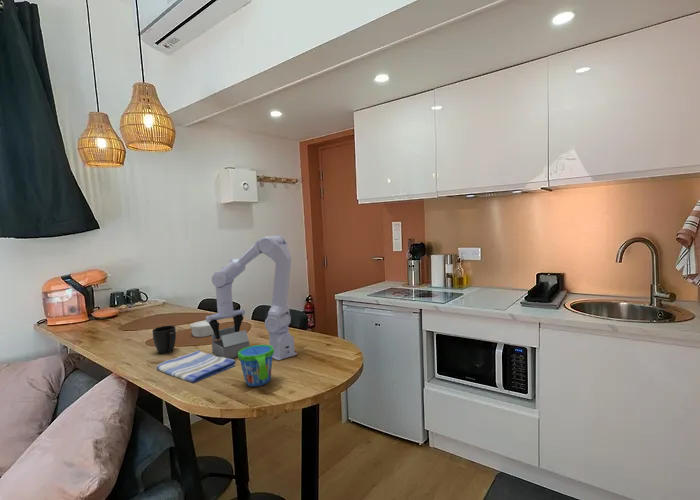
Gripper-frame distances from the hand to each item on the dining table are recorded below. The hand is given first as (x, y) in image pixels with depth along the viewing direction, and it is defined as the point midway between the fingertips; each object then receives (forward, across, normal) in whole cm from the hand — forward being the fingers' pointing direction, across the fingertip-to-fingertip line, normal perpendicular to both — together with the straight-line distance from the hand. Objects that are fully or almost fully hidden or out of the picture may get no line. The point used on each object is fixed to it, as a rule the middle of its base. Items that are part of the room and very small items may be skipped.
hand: (227, 336), depth 142 cm
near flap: (-1, 0, +7) cm, 8 cm away
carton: (+6, 0, +2) cm, 6 cm away
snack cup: (+6, +4, +35) cm, 36 cm away
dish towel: (+7, +14, +7) cm, 18 cm away
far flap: (-1, 0, -3) cm, 3 cm away
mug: (+6, +17, -19) cm, 26 cm away
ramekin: (+6, -2, -34) cm, 34 cm away
